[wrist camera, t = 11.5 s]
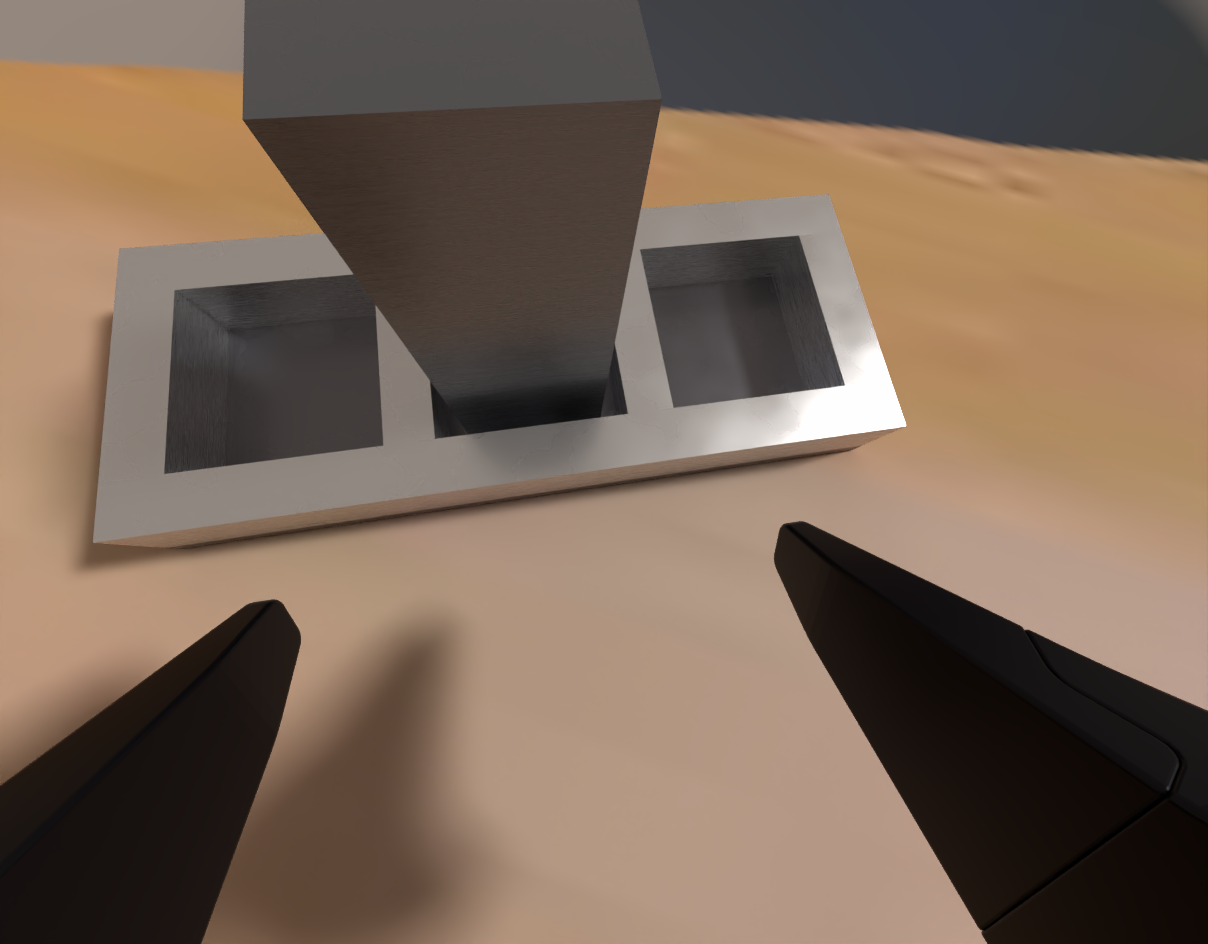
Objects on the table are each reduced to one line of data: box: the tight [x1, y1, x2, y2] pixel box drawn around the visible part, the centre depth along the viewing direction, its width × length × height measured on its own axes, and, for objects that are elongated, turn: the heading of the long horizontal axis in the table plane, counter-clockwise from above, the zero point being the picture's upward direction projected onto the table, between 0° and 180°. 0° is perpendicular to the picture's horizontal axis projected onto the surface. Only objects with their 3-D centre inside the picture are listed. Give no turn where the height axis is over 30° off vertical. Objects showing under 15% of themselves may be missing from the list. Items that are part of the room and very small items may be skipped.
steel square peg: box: [243, 0, 662, 434], centre depth 12 cm, size 5×5×12 cm
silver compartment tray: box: [93, 194, 906, 549], centre depth 17 cm, size 26×10×3 cm, turn 99°
